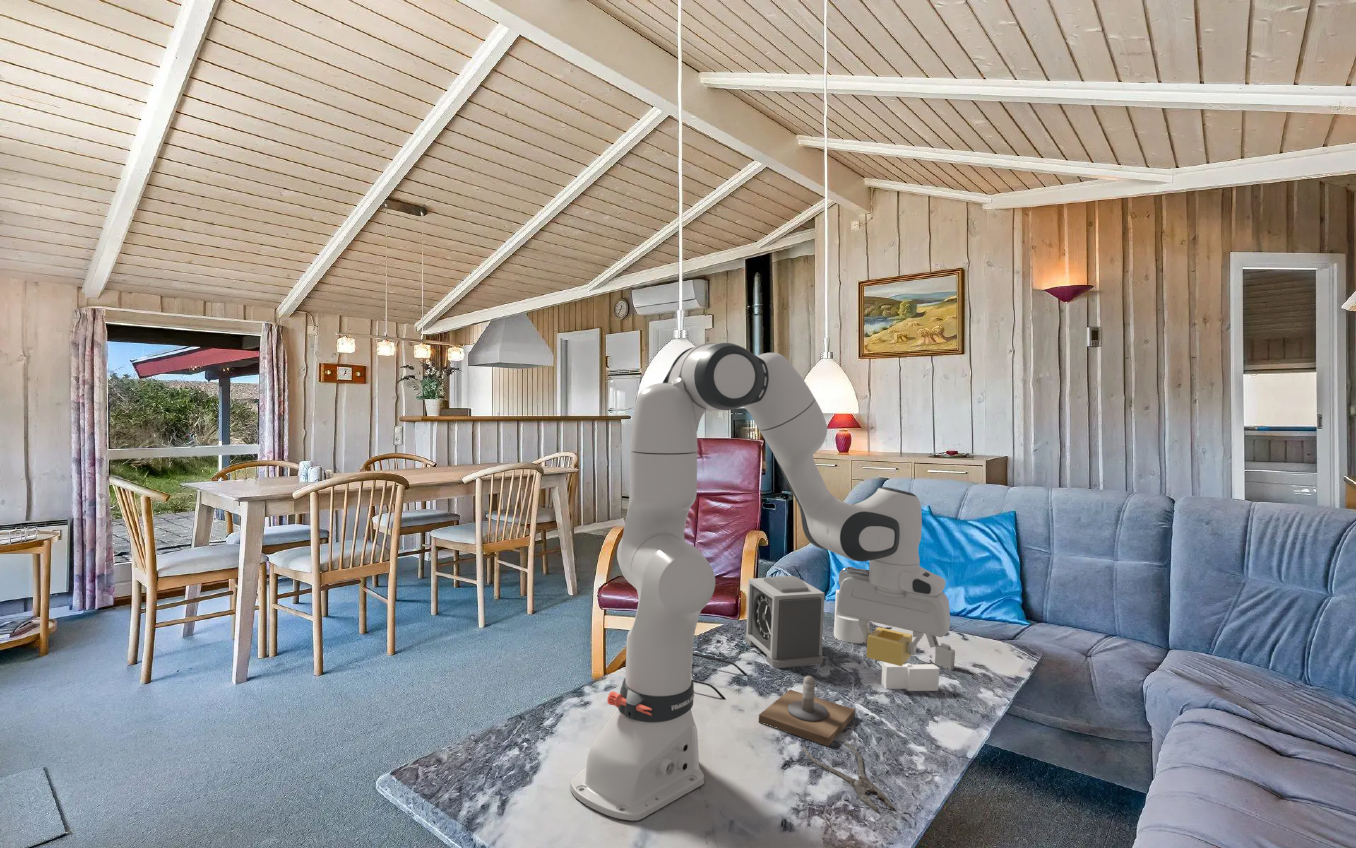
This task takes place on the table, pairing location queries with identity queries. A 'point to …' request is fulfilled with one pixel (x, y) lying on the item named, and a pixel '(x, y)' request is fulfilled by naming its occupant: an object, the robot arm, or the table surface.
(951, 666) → the lighter
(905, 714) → the table surface
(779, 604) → the alarm clock
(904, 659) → the block with square hole
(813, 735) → the post stand
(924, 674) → the white stepped block
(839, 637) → the base with upright slab
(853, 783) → the pliers
